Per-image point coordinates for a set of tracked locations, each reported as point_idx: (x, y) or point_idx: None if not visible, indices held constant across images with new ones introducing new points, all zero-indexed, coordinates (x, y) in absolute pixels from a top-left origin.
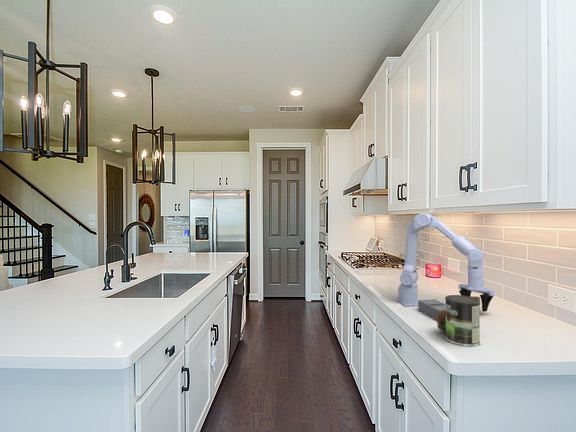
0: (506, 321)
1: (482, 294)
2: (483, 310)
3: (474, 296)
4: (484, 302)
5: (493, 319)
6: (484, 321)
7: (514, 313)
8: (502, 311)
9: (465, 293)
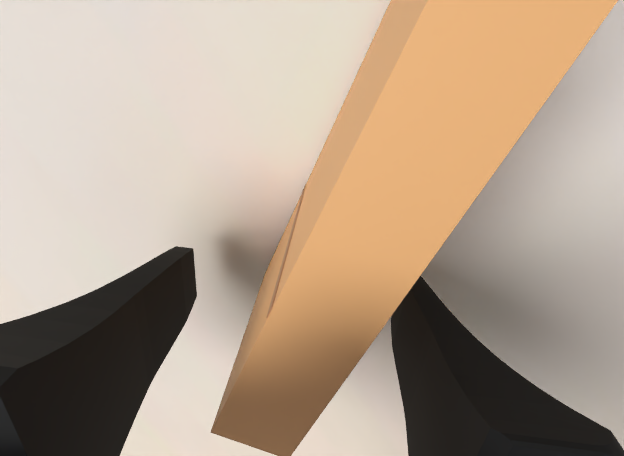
0: (12, 237)
1: (23, 454)
2: (168, 250)
3: (297, 431)
4: (64, 305)
5: (92, 202)
6: (62, 46)
7: (155, 447)
8: (223, 440)
9: (456, 441)
